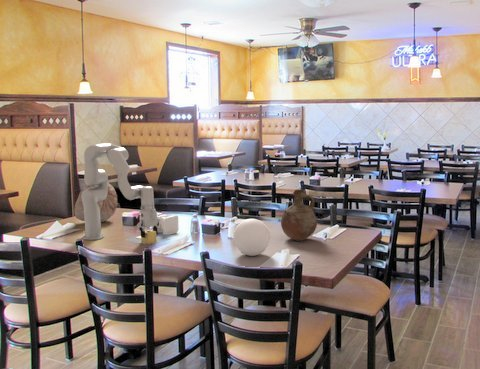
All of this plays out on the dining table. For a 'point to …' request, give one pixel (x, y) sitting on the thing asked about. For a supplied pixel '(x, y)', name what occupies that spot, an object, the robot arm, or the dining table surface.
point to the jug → (299, 217)
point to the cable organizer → (167, 224)
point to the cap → (149, 237)
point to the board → (138, 240)
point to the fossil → (105, 205)
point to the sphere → (251, 237)
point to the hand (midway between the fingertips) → (149, 235)
